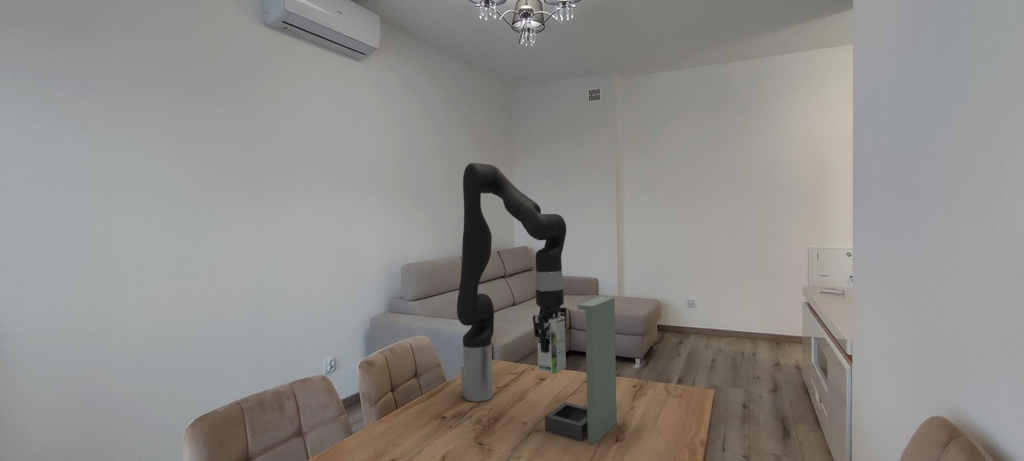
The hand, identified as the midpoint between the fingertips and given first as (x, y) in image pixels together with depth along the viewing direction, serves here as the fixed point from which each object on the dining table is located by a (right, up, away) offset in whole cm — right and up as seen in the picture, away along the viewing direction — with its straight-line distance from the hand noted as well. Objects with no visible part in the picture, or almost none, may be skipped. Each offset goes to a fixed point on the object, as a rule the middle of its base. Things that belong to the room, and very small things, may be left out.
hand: (551, 348), depth 123 cm
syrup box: (0, -6, 0) cm, 6 cm away
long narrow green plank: (+14, -22, -2) cm, 26 cm away
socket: (+6, -22, +1) cm, 23 cm away
